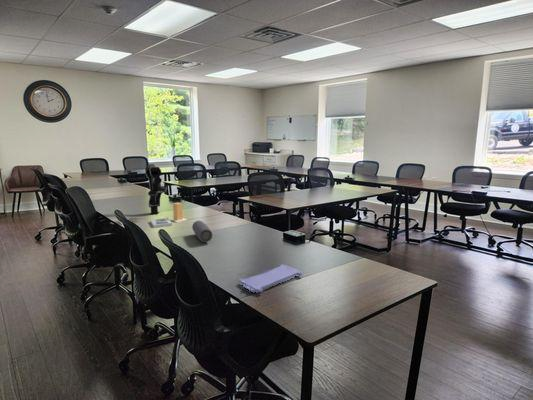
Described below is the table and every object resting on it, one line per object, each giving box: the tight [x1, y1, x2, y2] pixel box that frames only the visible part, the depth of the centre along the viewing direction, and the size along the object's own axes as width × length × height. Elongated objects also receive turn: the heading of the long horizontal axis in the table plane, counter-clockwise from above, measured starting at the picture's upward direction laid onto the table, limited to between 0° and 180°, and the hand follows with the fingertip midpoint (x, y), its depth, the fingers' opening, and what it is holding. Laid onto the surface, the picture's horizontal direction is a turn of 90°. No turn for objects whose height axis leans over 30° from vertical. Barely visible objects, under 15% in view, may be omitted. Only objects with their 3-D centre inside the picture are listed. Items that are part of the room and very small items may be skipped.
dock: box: [150, 217, 173, 228], centre depth 252 cm, size 18×13×2 cm
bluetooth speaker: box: [191, 220, 213, 243], centre depth 216 cm, size 23×9×10 cm, turn 23°
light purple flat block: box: [238, 263, 303, 293], centre depth 156 cm, size 30×4×15 cm
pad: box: [169, 217, 188, 223], centre depth 263 cm, size 10×10×1 cm
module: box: [172, 202, 184, 221], centre depth 261 cm, size 5×5×13 cm
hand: (156, 202), depth 267 cm, fingers open, 9 cm apart
